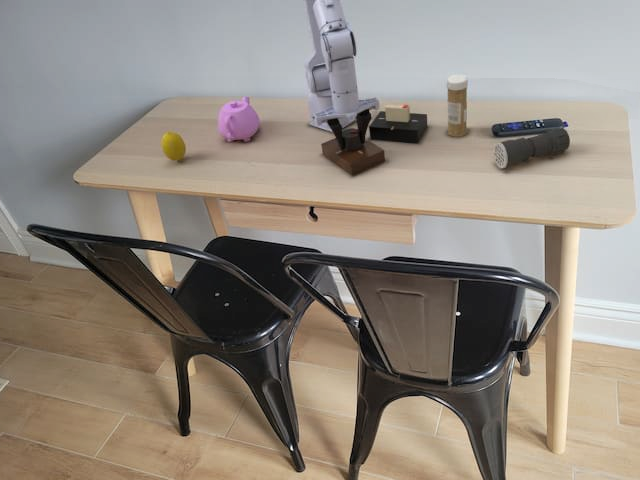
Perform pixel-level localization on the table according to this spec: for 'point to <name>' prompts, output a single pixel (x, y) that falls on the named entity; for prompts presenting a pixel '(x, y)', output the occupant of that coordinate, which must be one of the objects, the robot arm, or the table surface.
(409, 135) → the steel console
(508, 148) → the flashlight
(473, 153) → the table surface
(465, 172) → the table surface
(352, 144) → the round dial
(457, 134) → the sprinkles bottle
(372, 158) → the walnut console
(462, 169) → the table surface
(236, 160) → the table surface
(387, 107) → the bar knob
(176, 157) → the lemon
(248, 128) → the teapot
